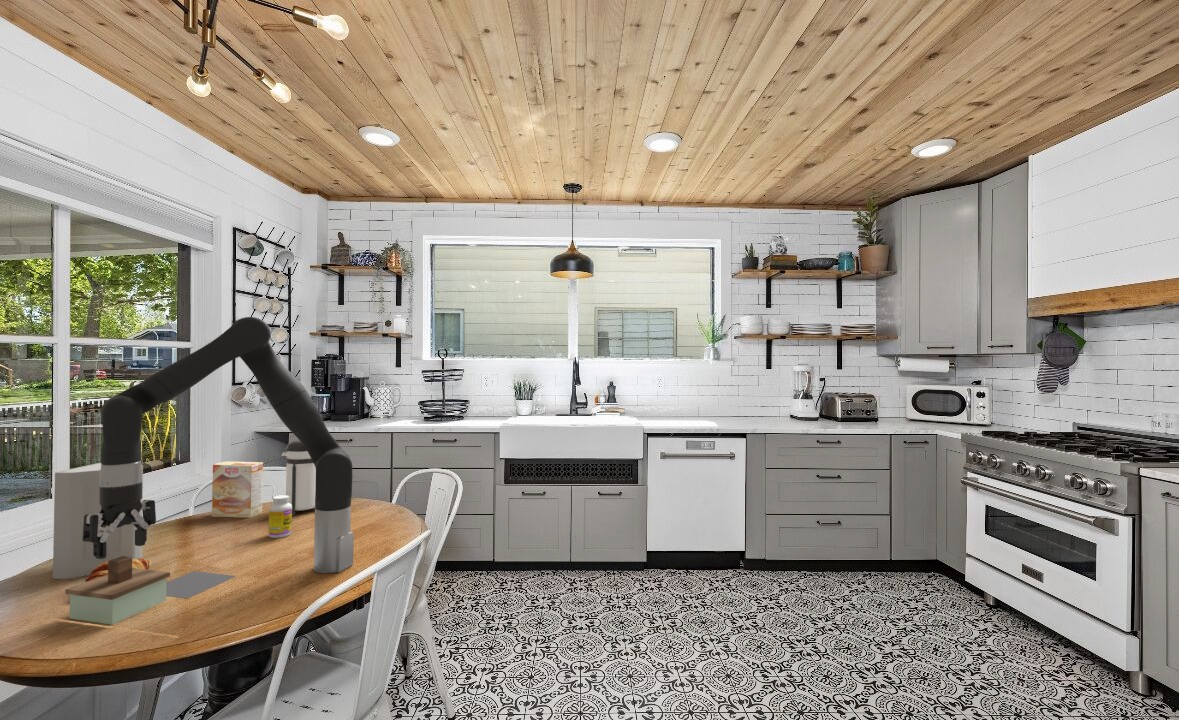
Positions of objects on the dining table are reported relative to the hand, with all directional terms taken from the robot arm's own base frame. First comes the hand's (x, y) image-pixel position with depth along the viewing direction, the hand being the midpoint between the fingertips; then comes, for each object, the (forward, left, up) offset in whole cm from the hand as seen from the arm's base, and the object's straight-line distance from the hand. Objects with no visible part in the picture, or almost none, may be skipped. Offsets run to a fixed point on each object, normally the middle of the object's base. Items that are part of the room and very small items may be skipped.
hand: (121, 551), depth 123 cm
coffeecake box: (+38, -70, -14) cm, 81 cm away
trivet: (-3, -15, -14) cm, 21 cm away
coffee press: (+18, -82, -14) cm, 85 cm away
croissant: (+16, -12, -14) cm, 25 cm away
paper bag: (+31, -21, -14) cm, 40 cm away
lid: (0, 0, -8) cm, 8 cm away
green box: (0, 0, -14) cm, 14 cm away
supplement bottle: (+5, -54, -14) cm, 56 cm away
